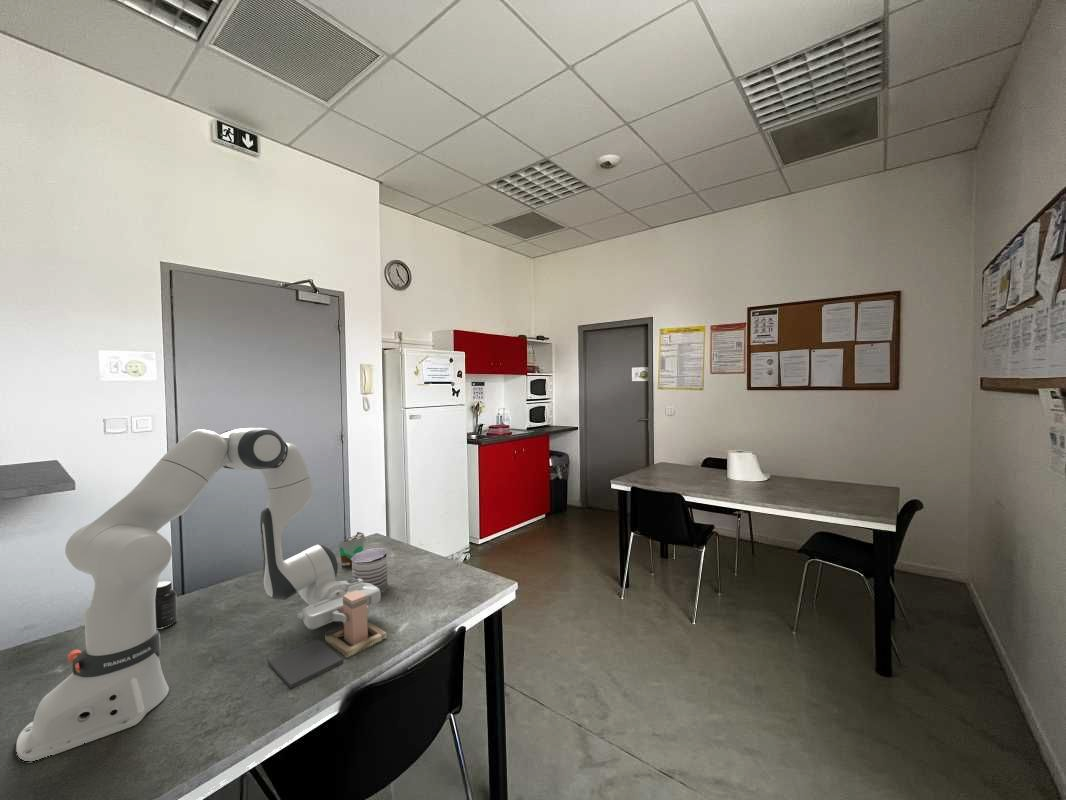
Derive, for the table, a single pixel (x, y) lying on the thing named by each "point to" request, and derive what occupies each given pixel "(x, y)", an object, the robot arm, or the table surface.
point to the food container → (351, 548)
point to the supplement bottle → (165, 604)
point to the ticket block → (355, 617)
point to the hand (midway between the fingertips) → (356, 614)
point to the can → (371, 567)
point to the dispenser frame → (348, 651)
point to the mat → (304, 662)
